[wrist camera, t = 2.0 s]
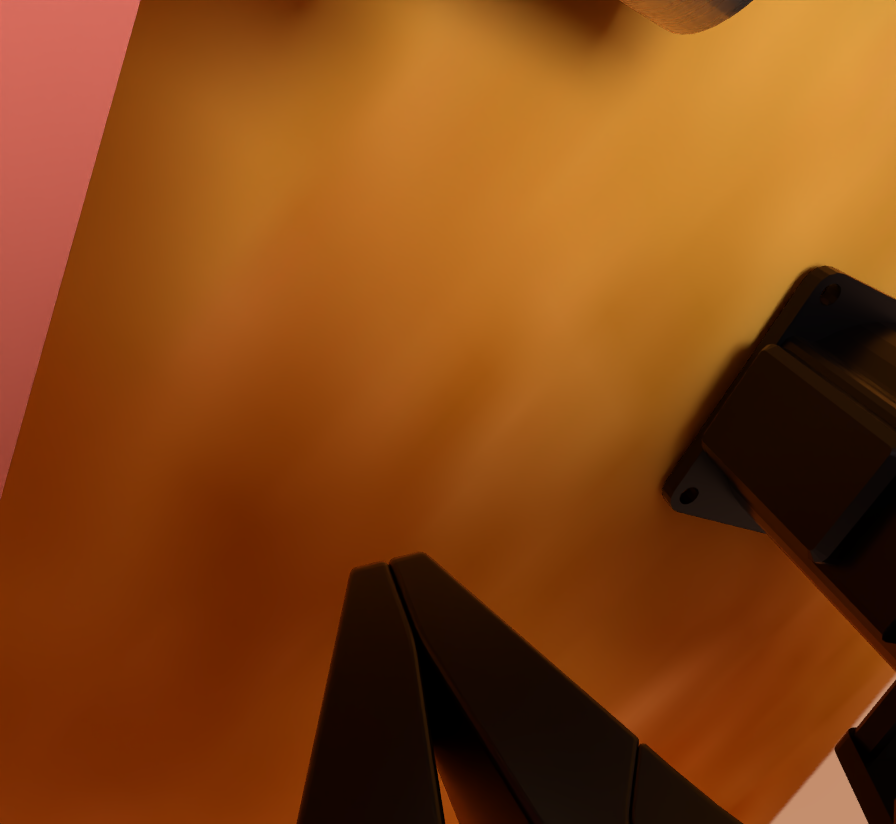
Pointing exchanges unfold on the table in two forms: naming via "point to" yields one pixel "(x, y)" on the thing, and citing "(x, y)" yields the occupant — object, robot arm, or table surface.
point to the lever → (46, 166)
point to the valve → (687, 13)
